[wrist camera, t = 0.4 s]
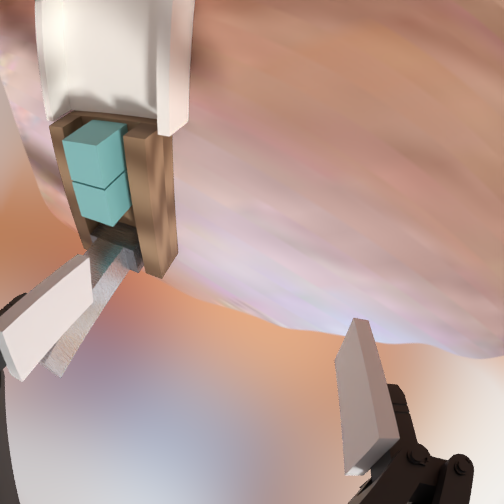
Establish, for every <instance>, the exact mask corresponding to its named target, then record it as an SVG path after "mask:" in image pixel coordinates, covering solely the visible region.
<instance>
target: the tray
mask: <svg viewBox="0 0 504 504" xmlns="http://www.w3.org/2000/svg"><path fill="white" fill-rule="evenodd" d="M194 6H195V0H35V26H36V43H37V55H38V65H39V73H40V81H41V88H42V95H43V101H44V107H45V112H46V118H47V121H54V120H56V119H57V118H59V117H60V116H62V115H64V114H65V113H67V112H69V111H70V110H77V111H90V112H102V113H112V114H121V115H129V116H137V117H145V118H152V119H157V128H158V135H163V136H168V137H170V136H171V135H172V134H173V133H175V132H176V131H177V130H178V129H180V128H181V127H182V126H183V125H185V124H186V123H187V122H188V116H189V84H190V63H191V45H192V31H193V18H194Z"/></svg>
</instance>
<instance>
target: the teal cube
mask: <svg viewBox="0 0 504 504" xmlns="http://www.w3.org/2000/svg"><path fill="white" fill-rule="evenodd" d="M127 132H128V129H127V124H125V123H117V122H109V121H101V120H91V121H90V122H88V123H87V124H85V125H84V126H82V127H81V128H79V129H78V130H76V131H75V132H73V133H72V134H70V135H69V136H67V137H66V138H65V139H63V140H62V142H63V147H64V151H65V156H66V160H67V164H68V168H69V172H70V176H71V180H73V181H77V182H81V183H85V184H88V185H92V186H96V187H99V188H103V189H105V188H106V187H107V186H108V185H109V184H110V183H111V182H112V181H113V180H114V179H115V178H116V177H117V176H118V175H120V174H121V173H122V172H123V171H124V170H125V169H126V168H127V165H126V158H125V150H124V141H123V135H125V134H126V133H127Z"/></svg>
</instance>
